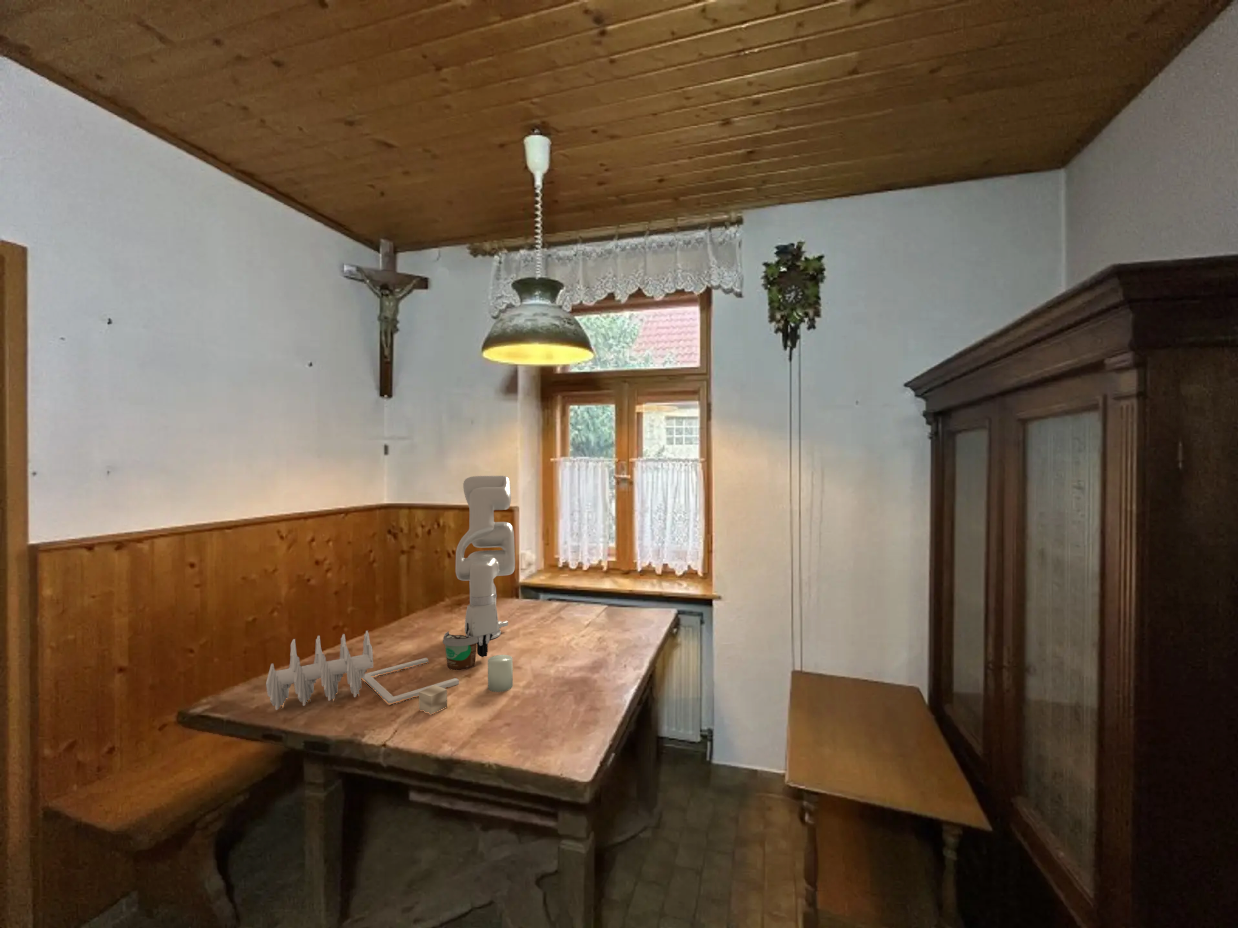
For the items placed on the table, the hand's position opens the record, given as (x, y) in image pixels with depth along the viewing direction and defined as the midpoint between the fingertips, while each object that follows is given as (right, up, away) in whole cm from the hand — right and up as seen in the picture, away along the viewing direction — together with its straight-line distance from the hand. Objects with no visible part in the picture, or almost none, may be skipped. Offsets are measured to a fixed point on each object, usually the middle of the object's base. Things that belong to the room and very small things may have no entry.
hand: (482, 655), depth 174 cm
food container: (-7, -2, -6) cm, 9 cm away
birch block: (-4, -2, -34) cm, 34 cm away
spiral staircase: (-37, -3, -28) cm, 46 cm away
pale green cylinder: (+10, -2, -20) cm, 23 cm away
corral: (-17, -2, -15) cm, 23 cm away
